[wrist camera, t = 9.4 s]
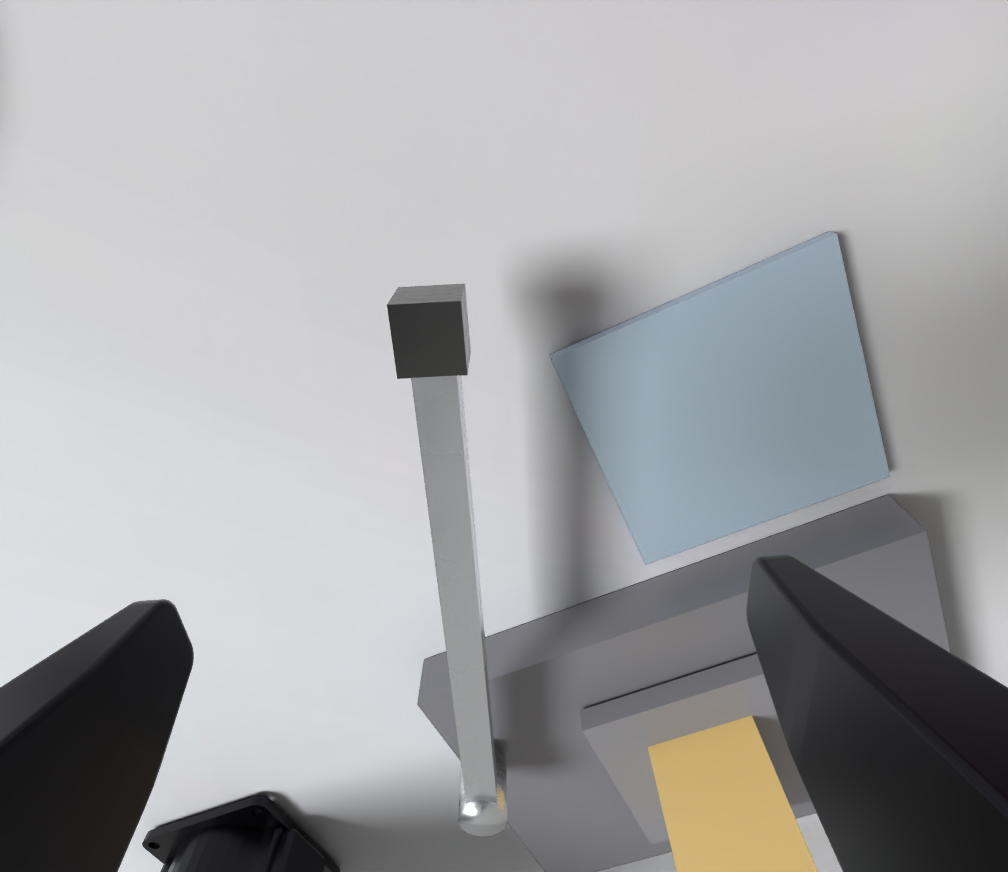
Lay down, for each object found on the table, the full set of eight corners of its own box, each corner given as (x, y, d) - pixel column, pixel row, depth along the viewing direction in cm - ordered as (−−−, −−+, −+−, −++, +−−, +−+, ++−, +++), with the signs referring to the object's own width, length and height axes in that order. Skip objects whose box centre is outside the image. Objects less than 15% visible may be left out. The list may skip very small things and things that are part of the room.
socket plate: (550, 834, 28) (553, 882, 26) (423, 659, 23) (417, 704, 21) (939, 724, 25) (973, 771, 23) (888, 494, 20) (926, 530, 18)
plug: (636, 770, 26) (686, 1013, 19) (572, 661, 23) (604, 899, 16) (801, 721, 25) (922, 963, 18) (755, 599, 22) (878, 828, 15)
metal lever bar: (507, 773, 23) (508, 837, 21) (464, 775, 23) (460, 839, 21) (468, 276, 15) (463, 300, 12) (400, 280, 15) (384, 305, 13)
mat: (642, 557, 21) (645, 564, 21) (550, 354, 18) (550, 359, 17) (882, 470, 20) (889, 476, 19) (829, 231, 16) (836, 233, 16)
